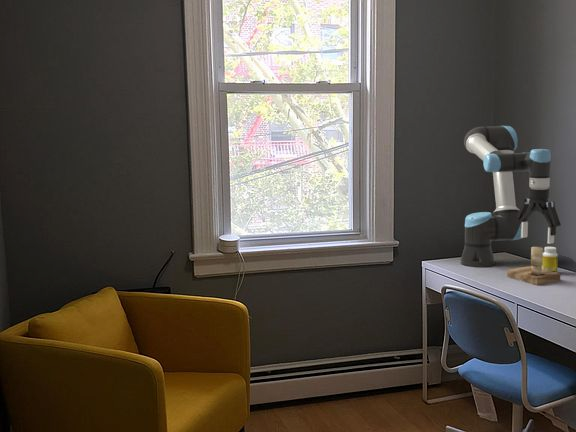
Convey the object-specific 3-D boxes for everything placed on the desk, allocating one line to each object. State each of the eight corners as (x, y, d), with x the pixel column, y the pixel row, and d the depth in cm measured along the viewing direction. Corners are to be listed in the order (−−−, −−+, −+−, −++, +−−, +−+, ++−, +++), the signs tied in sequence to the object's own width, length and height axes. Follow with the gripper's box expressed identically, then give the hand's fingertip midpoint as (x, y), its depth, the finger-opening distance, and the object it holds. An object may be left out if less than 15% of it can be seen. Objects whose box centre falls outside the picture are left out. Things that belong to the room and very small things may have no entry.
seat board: (506, 276, 260) (507, 269, 260) (529, 272, 266) (530, 266, 265) (536, 285, 246) (536, 278, 246) (560, 280, 251) (560, 273, 251)
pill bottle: (558, 274, 261) (559, 249, 259) (543, 274, 262) (544, 249, 261) (555, 271, 267) (556, 246, 265) (540, 271, 268) (541, 246, 267)
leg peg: (527, 280, 253) (528, 247, 251) (535, 279, 255) (536, 246, 253) (536, 283, 249) (537, 249, 247) (544, 281, 251) (545, 248, 249)
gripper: (508, 185, 256) (507, 236, 259) (557, 192, 233) (555, 247, 237) (522, 184, 259) (520, 234, 262) (572, 190, 236) (569, 244, 240)
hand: (537, 240), depth 250 cm, fingers open, 13 cm apart
